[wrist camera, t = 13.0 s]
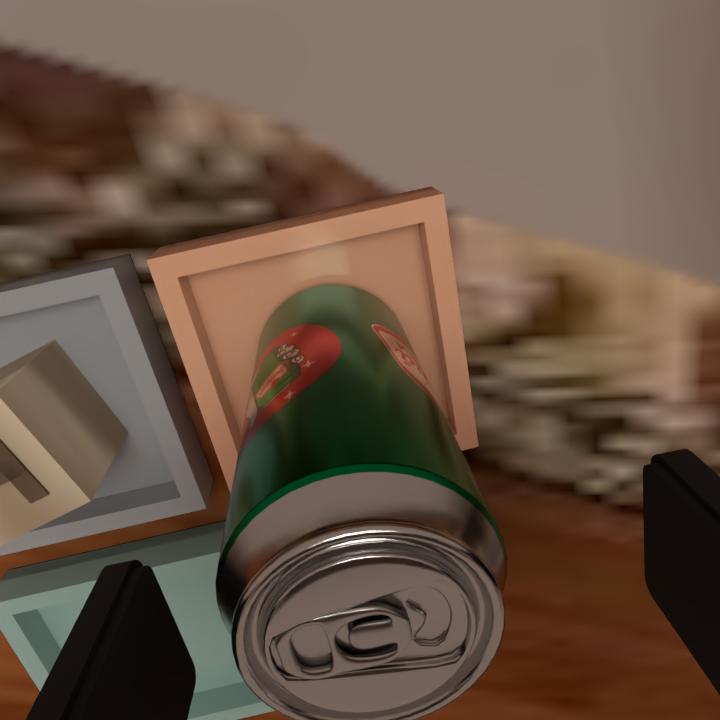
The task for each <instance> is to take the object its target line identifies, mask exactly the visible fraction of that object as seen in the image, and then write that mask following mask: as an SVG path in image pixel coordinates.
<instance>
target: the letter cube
mask: <svg viewBox="0 0 720 720" xmlns="http://www.w3.org/2000/svg"><path fill="white" fill-rule="evenodd" d="M127 433H128V431H127V429H126V428H125V427H124V426H123V424H122V423H121V422H120V421H119V419H118V418H117V417H116V415H115V414H114V413H113V412H112V410H111V409H110V408H109V407H108V405H107V404H106V403H105V402H104V400H103V399H102V398H101V397H100V395H99V394H98V393H97V392H96V390H95V389H94V388H93V387H92V385H91V384H90V383H89V381H88V380H87V379H86V378H85V376H84V375H83V374H82V373H81V371H80V370H79V369H78V368H77V366H76V365H75V364H74V363H73V361H72V360H71V359H70V358H69V356H68V355H67V354H66V353H65V351H64V350H63V349H62V347H61V346H60V345H59V344H58V342H57V341H56V340H55V339H54V340H52V341H51V342H49V343H47V344H45V345H43V346H41V347H39V348H37V349H35V350H34V351H32V352H30V353H28V354H26V355H24V356H22V357H20V358H19V359H17V360H15V361H13V362H11V363H9V364H7V365H5V366H4V367H2V368H0V546H1V545H3V544H6V543H8V542H10V541H12V540H14V539H16V538H18V537H20V536H22V535H24V534H26V533H28V532H30V531H32V530H34V529H36V528H38V527H40V526H42V525H44V524H46V523H48V522H50V521H52V520H54V519H56V518H58V517H60V516H62V515H64V514H66V513H68V512H70V511H72V510H74V509H76V508H78V507H80V506H82V505H84V504H86V503H88V502H90V501H91V500H92V498H93V496H94V494H95V493H96V491H97V489H98V487H99V485H100V483H101V481H102V480H103V478H104V476H105V474H106V472H107V470H108V468H109V467H110V465H111V463H112V461H113V459H114V457H115V455H116V454H117V452H118V450H119V448H120V446H121V444H122V442H123V441H124V439H125V437H126V435H127Z"/></svg>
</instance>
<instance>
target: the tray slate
mask: <svg viewBox="0 0 720 720" xmlns="http://www.w3.org/2000/svg"><path fill="white" fill-rule="evenodd" d="M54 339H55V340H56V341H57V342H58V344H59V345H60V346H61V347H62V349H63V350H64V351H65V353H66V354H67V355H68V356H69V358H70V359H71V360H72V361H73V363H74V364H75V365H76V366H77V368H78V369H79V370H80V371H81V373H82V374H83V375H84V376H85V378H86V379H87V380H88V381H89V383H90V384H91V385H92V387H93V388H94V389H95V390H96V392H97V393H98V394H99V395H100V397H101V398H102V399H103V400H104V402H105V403H106V404H107V405H108V407H109V408H110V409H111V410H112V412H113V413H114V414H115V415H116V417H117V418H118V419H119V421H120V422H121V423H122V424H123V426H124V427H125V428H126V429H127V431H128V433H127V435H126V437H125V439H124V441H123V442H122V444H121V446H120V448H119V450H118V452H117V454H116V455H115V457H114V459H113V461H112V463H111V465H110V467H109V468H108V470H107V472H106V474H105V476H104V478H103V480H102V481H101V483H100V485H99V487H98V489H97V491H96V493H95V494H94V496H93V498H92V500H91V501H90V502H88V503H86V504H84V505H82V506H80V507H78V508H76V509H74V510H72V511H70V512H68V513H66V514H64V515H62V516H60V517H58V518H56V519H54V520H52V521H50V522H48V523H46V524H44V525H42V526H40V527H38V528H36V529H34V530H32V531H30V532H28V533H26V534H24V535H22V536H20V537H18V538H16V539H14V540H12V541H10V542H8V543H6V544H3V545H1V546H0V556H1V555H5V554H10V553H14V552H19V551H23V550H27V549H32V548H36V547H41V546H45V545H49V544H54V543H58V542H62V541H67V540H71V539H76V538H80V537H84V536H89V535H93V534H98V533H102V532H106V531H111V530H115V529H120V528H124V527H128V526H133V525H137V524H141V523H146V522H150V521H155V520H159V519H163V518H168V517H172V516H177V515H181V514H185V513H190V512H194V511H198V510H203V509H206V508H207V504H208V500H209V496H210V491H211V487H212V483H213V477H212V475H211V472H210V469H209V466H208V464H207V461H206V458H205V456H204V453H203V450H202V448H201V445H200V442H199V440H198V437H197V434H196V431H195V429H194V426H193V423H192V421H191V418H190V415H189V413H188V410H187V407H186V405H185V402H184V399H183V396H182V394H181V391H180V388H179V386H178V383H177V380H176V378H175V375H174V372H173V370H172V367H171V364H170V361H169V359H168V356H167V353H166V351H165V348H164V345H163V343H162V340H161V337H160V335H159V332H158V329H157V326H156V324H155V321H154V318H153V316H152V313H151V310H150V308H149V305H148V302H147V300H146V297H145V294H144V291H143V289H142V286H141V283H140V281H139V278H138V275H137V273H136V270H135V267H134V265H133V262H132V259H131V256H130V254H127V255H122V256H118V257H113V258H109V259H105V260H100V261H96V262H91V263H87V264H82V265H78V266H73V267H69V268H64V269H60V270H55V271H51V272H46V273H42V274H37V275H33V276H28V277H24V278H19V279H15V280H11V281H6V282H2V283H0V368H2V367H4V366H5V365H7V364H9V363H11V362H13V361H15V360H17V359H19V358H20V357H22V356H24V355H26V354H28V353H30V352H32V351H34V350H35V349H37V348H39V347H41V346H43V345H45V344H47V343H49V342H51V341H52V340H54Z"/></svg>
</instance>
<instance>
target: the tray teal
mask: <svg viewBox="0 0 720 720" xmlns="http://www.w3.org/2000/svg"><path fill="white" fill-rule="evenodd" d="M225 523H226V521H221V522H217V523H213V524H208V525H204V526H200V527H195V528H191V529H186V530H182V531H178V532H173V533H169V534H165V535H160V536H156V537H151V538H147V539H143V540H138V541H134V542H130V543H125V544H121V545H116V546H112V547H108V548H103V549H99V550H94V551H90V552H86V553H81V554H77V555H73V556H68V557H64V558H59V559H55V560H51V561H46V562H42V563H38V564H33V565H29V566H24V567H20V568H16V569H11V570H8V571H7V572H6V574H5V575H4V577H3V579H2V580H1V582H0V630H1V631H2V633H3V634H4V636H5V637H6V639H7V641H8V642H9V644H10V645H11V647H12V648H13V650H14V651H15V653H16V655H17V656H18V658H19V659H20V661H21V662H22V664H23V666H24V667H25V669H26V670H27V672H28V673H29V675H30V677H31V678H32V680H33V681H34V683H35V684H36V686H37V688H38V689H39V691H41V689H42V687H43V685H44V683H45V681H46V679H47V677H48V675H49V673H50V671H51V669H52V667H53V665H54V663H55V661H56V659H57V657H58V655H59V653H60V652H61V650H62V648H63V646H64V644H65V642H66V640H67V638H68V636H69V634H70V632H71V630H72V628H73V626H74V624H75V622H76V620H77V618H78V616H79V614H80V612H81V610H82V608H83V606H84V604H85V602H86V600H87V598H88V596H89V595H90V593H91V591H92V589H93V587H94V585H95V583H96V581H97V579H98V577H99V575H100V573H101V571H102V570H103V568H104V567H105V566H107V565H111V564H116V563H121V562H126V561H131V560H139V561H140V562H141V563H142V565H143V566H146V565H148V566H150V567H151V568H152V570H153V572H154V574H155V576H156V579H157V581H158V583H159V585H160V588H161V590H162V592H163V594H164V597H165V599H166V601H167V604H168V606H169V608H170V610H171V613H172V615H173V617H174V619H175V622H176V624H177V626H178V629H179V631H180V633H181V635H182V638H183V640H184V642H185V644H186V647H187V649H188V651H189V654H190V656H191V658H192V660H193V663H194V666H195V670H196V684H195V689H194V694H193V698H192V702H191V706H190V710H189V715H188V719H187V720H237V719H241V718H245V717H250V716H254V715H258V714H263V713H267V712H271V711H276V710H274V709H272V708H271V707H269V706H268V705H266V704H265V703H264V702H263V701H262V700H260V699H259V698H258V697H257V696H256V695H255V694H254V693H253V692H252V691H251V689H250V688H249V687H248V686H247V684H246V683H245V682H244V680H243V678H242V676H241V674H240V673H239V671H238V669H237V666H236V662H235V659H234V655H233V651H232V646H231V636H230V634H229V632H228V630H227V628H226V626H225V625H224V623H223V621H222V619H221V616H220V612H219V608H218V605H217V601H216V586H215V580H216V574H217V567H218V561H219V556H220V550H221V545H222V539H223V534H224V528H225Z"/></svg>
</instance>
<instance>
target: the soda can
mask: <svg viewBox="0 0 720 720" xmlns="http://www.w3.org/2000/svg"><path fill="white" fill-rule="evenodd" d="M506 575H507V556H506V551H505V546H504V541H503V538H502V536H501V533H500V531H499V529H498V526H497V524H496V522H495V520H494V518H493V515H492V513H491V511H490V509H489V507H488V505H487V503H486V501H485V499H484V497H483V495H482V492H481V490H480V488H479V486H478V484H477V482H476V480H475V478H474V476H473V474H472V472H471V469H470V467H469V465H468V463H467V461H466V459H465V457H464V455H463V453H462V451H461V449H460V446H459V444H458V442H457V440H456V438H455V436H454V434H453V432H452V430H451V428H450V425H449V423H448V421H447V419H446V417H445V415H444V413H443V411H442V409H441V407H440V405H439V402H438V400H437V398H436V396H435V394H434V392H433V390H432V388H431V386H430V384H429V382H428V379H427V377H426V375H425V373H424V371H423V369H422V367H421V365H420V363H419V361H418V359H417V356H416V354H415V352H414V350H413V348H412V346H411V344H410V342H409V340H408V338H407V336H406V333H405V331H404V329H403V327H402V325H401V323H400V321H399V320H398V318H397V317H396V315H395V313H394V312H393V311H392V310H391V309H390V308H389V307H388V306H387V305H386V304H385V303H384V302H383V301H382V300H380V299H379V298H378V297H376V296H374V295H373V294H371V293H369V292H367V291H365V290H362V289H359V288H356V287H352V286H347V285H335V284H329V285H321V286H316V287H312V288H309V289H305V290H303V291H301V292H299V293H297V294H295V295H293V296H292V297H290V298H289V299H287V300H286V301H284V302H283V303H282V304H281V305H280V306H279V307H278V308H277V309H276V310H275V311H274V312H273V313H272V315H271V316H270V317H269V319H268V320H267V322H266V324H265V326H264V328H263V330H262V333H261V336H260V339H259V343H258V349H257V354H256V360H255V365H254V371H253V376H252V381H251V387H250V392H249V398H248V403H247V409H246V414H245V420H244V425H243V430H242V436H241V441H240V447H239V452H238V458H237V463H236V469H235V474H234V479H233V485H232V490H231V496H230V501H229V507H228V512H227V518H226V523H225V528H224V534H223V539H222V545H221V550H220V556H219V561H218V567H217V574H216V580H215V586H216V601H217V605H218V608H219V612H220V616H221V619H222V621H223V623H224V625H225V626H226V628H227V630H228V632H229V634H230V636H231V646H232V651H233V655H234V659H235V662H236V666H237V669H238V671H239V673H240V674H241V676H242V678H243V680H244V682H245V683H246V684H247V686H248V687H249V688H250V689H251V691H252V692H253V693H254V694H255V695H256V696H257V697H258V698H259V699H260V700H262V701H263V702H264V703H265V704H266V705H268V706H269V707H271V708H272V709H274V710H276V711H277V712H279V713H280V714H282V715H284V716H287V717H289V718H291V719H294V720H416V719H418V718H421V717H424V716H426V715H429V714H431V713H433V712H435V711H437V710H439V709H440V708H442V707H444V706H446V705H448V704H449V703H451V702H452V701H454V700H455V699H457V698H458V697H460V696H461V695H462V694H464V693H465V692H466V691H467V690H468V689H469V688H470V687H471V686H473V685H474V684H475V683H476V682H477V681H478V679H479V678H480V677H481V676H482V675H483V674H484V673H485V671H486V670H487V669H488V667H489V666H490V664H491V662H492V661H493V659H494V658H495V656H496V654H497V651H498V649H499V646H500V644H501V641H502V637H503V632H504V627H505V604H504V600H503V595H502V594H503V590H504V585H505V580H506Z"/></svg>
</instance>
